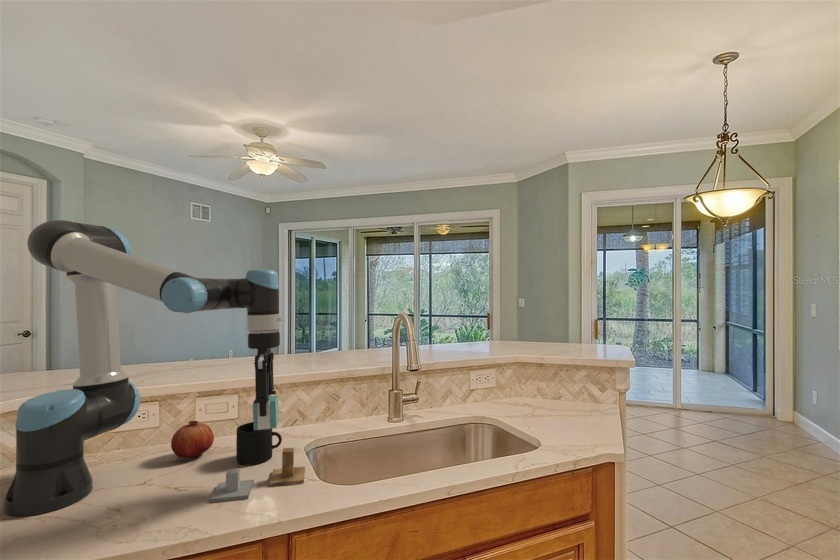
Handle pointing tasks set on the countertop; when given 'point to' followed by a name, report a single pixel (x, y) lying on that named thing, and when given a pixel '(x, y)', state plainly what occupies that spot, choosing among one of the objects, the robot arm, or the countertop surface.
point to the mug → (254, 444)
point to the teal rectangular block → (273, 413)
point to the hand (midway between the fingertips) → (265, 424)
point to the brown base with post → (287, 471)
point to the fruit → (192, 440)
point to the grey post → (232, 487)
